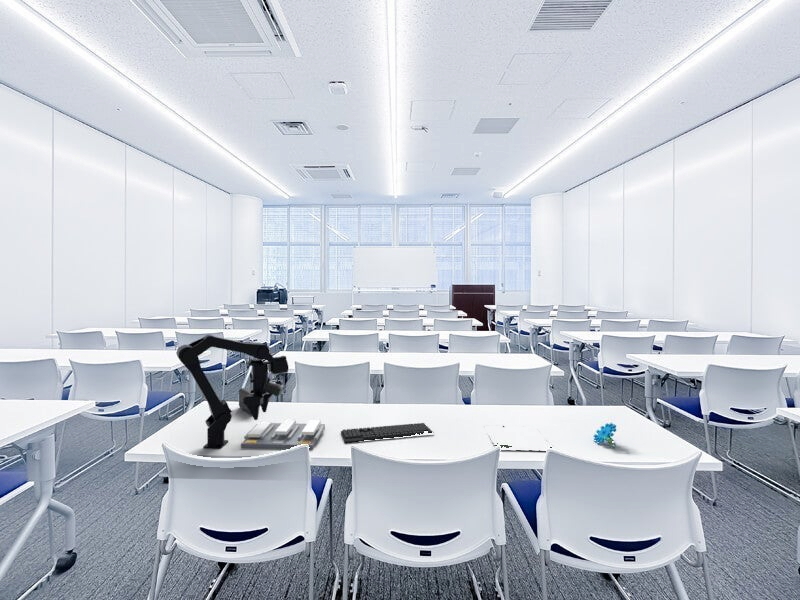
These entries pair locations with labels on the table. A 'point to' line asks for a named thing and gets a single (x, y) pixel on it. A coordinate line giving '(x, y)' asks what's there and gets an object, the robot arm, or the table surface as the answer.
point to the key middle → (285, 427)
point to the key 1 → (259, 429)
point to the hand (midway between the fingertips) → (260, 415)
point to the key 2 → (311, 427)
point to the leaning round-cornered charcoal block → (242, 394)
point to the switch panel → (282, 437)
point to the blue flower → (605, 433)
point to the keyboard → (383, 432)
